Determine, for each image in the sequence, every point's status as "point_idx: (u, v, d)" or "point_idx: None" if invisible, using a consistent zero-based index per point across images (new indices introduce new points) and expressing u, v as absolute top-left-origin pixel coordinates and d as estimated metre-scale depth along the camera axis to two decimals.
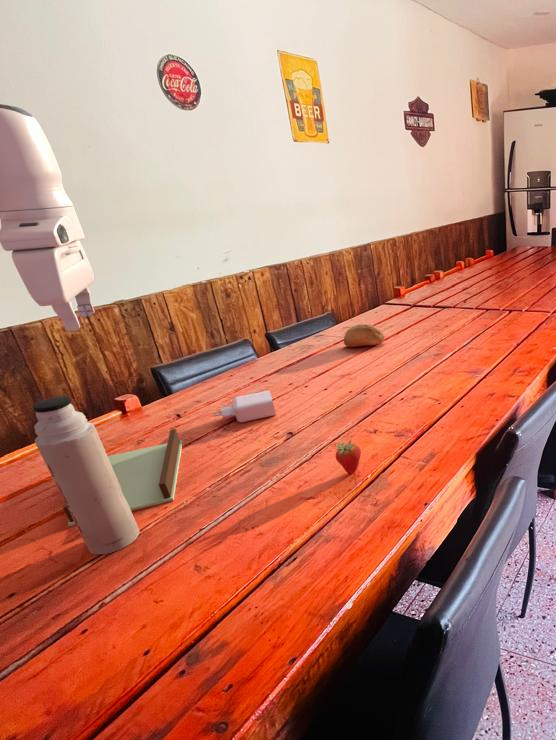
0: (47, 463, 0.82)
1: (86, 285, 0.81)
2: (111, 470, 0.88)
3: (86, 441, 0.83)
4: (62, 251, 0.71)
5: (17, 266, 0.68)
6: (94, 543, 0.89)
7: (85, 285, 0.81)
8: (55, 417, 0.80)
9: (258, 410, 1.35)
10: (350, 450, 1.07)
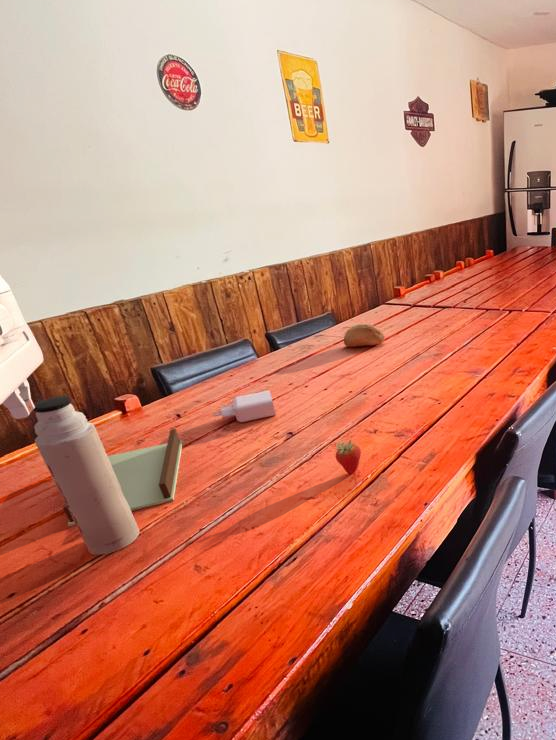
0: (47, 463, 0.82)
1: (30, 372, 0.73)
2: (111, 470, 0.88)
3: (86, 441, 0.83)
4: None
5: None
6: (94, 543, 0.89)
7: (29, 373, 0.72)
8: (55, 417, 0.80)
9: (258, 410, 1.35)
10: (350, 450, 1.07)
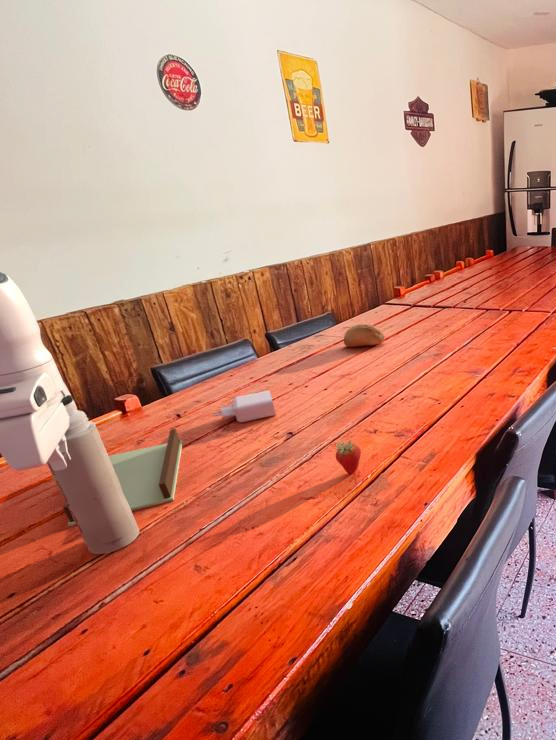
0: None
1: (67, 427, 0.80)
2: (111, 469, 0.89)
3: (87, 439, 0.83)
4: (40, 413, 0.70)
5: None
6: (94, 542, 0.89)
7: (66, 428, 0.80)
8: None
9: (258, 410, 1.35)
10: (350, 450, 1.07)
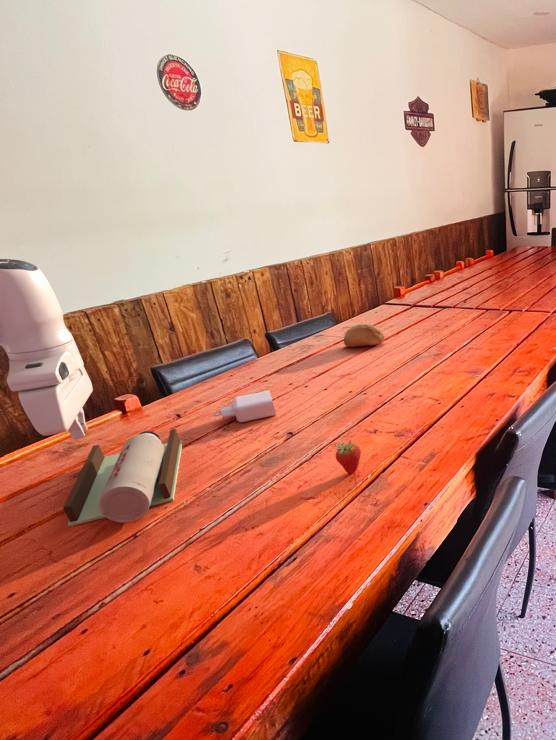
0: (129, 444, 1.09)
1: (85, 401, 0.91)
2: None
3: (162, 447, 1.14)
4: (63, 385, 0.80)
5: (23, 405, 0.77)
6: (123, 479, 0.96)
7: (84, 402, 0.90)
8: None
9: (258, 410, 1.35)
10: (350, 450, 1.07)
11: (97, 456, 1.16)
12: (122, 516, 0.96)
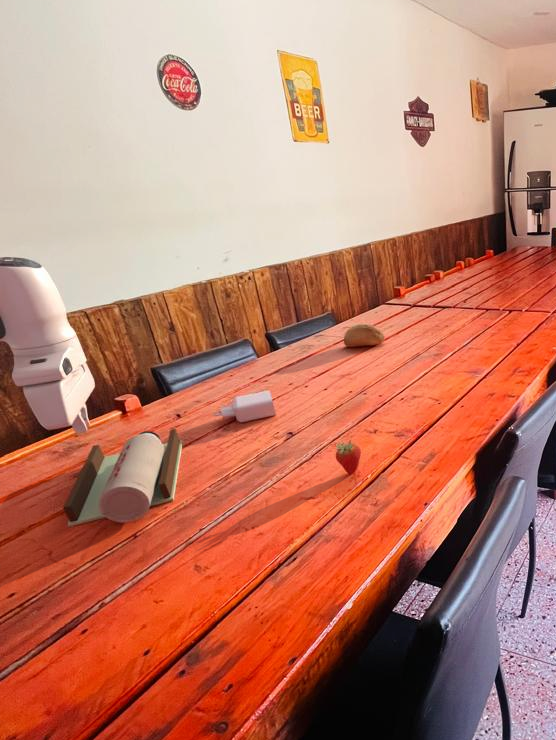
0: (129, 444, 1.09)
1: (87, 396, 0.92)
2: None
3: (162, 447, 1.14)
4: (67, 381, 0.82)
5: (28, 400, 0.79)
6: (123, 479, 0.96)
7: (86, 397, 0.92)
8: None
9: (258, 410, 1.35)
10: (350, 450, 1.07)
11: (97, 456, 1.16)
12: (122, 516, 0.96)
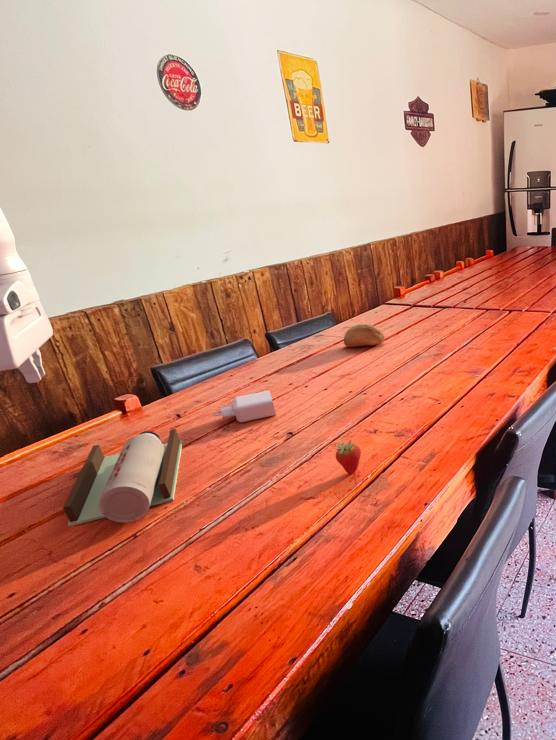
0: (129, 444, 1.09)
1: (42, 342, 0.83)
2: None
3: (162, 447, 1.14)
4: (13, 317, 0.73)
5: None
6: (123, 479, 0.96)
7: (41, 343, 0.82)
8: None
9: (258, 410, 1.35)
10: (350, 450, 1.07)
11: (97, 456, 1.16)
12: (122, 516, 0.96)
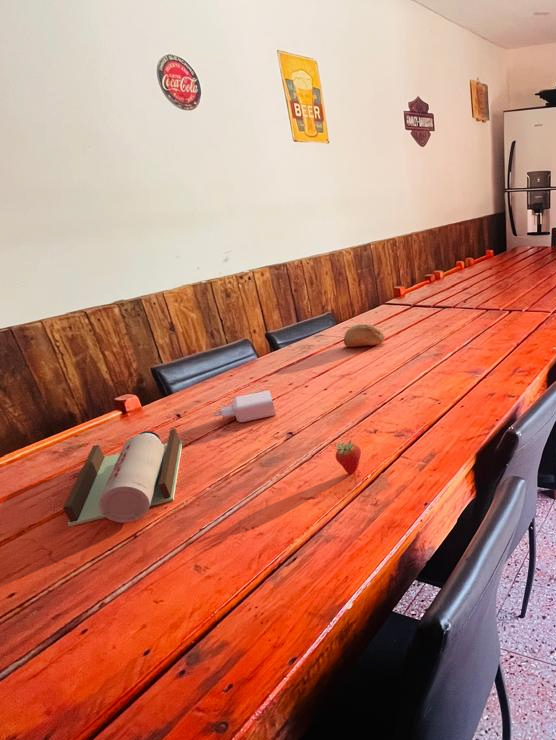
0: (129, 444, 1.09)
1: None
2: None
3: (162, 447, 1.14)
4: None
5: None
6: (123, 479, 0.96)
7: None
8: None
9: (258, 410, 1.35)
10: (350, 450, 1.07)
11: (97, 456, 1.16)
12: (122, 516, 0.96)
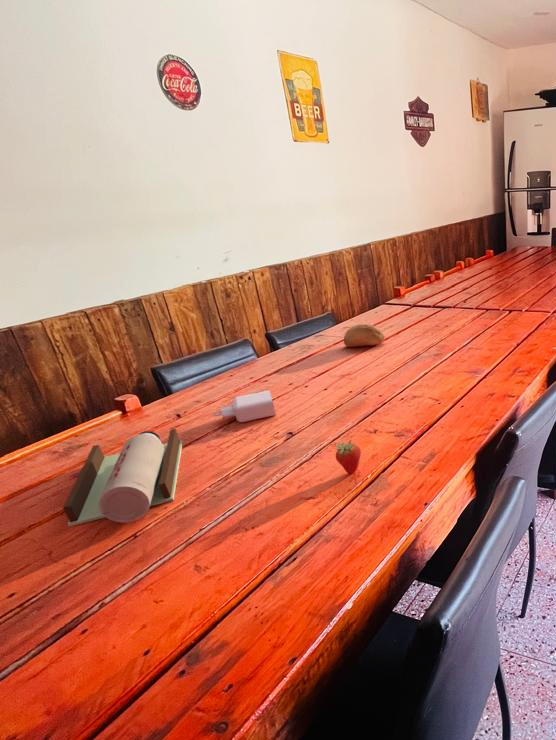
0: (129, 444, 1.09)
1: None
2: None
3: (162, 447, 1.14)
4: None
5: None
6: (123, 479, 0.96)
7: None
8: None
9: (258, 410, 1.35)
10: (350, 450, 1.07)
11: (97, 456, 1.16)
12: (122, 516, 0.96)
